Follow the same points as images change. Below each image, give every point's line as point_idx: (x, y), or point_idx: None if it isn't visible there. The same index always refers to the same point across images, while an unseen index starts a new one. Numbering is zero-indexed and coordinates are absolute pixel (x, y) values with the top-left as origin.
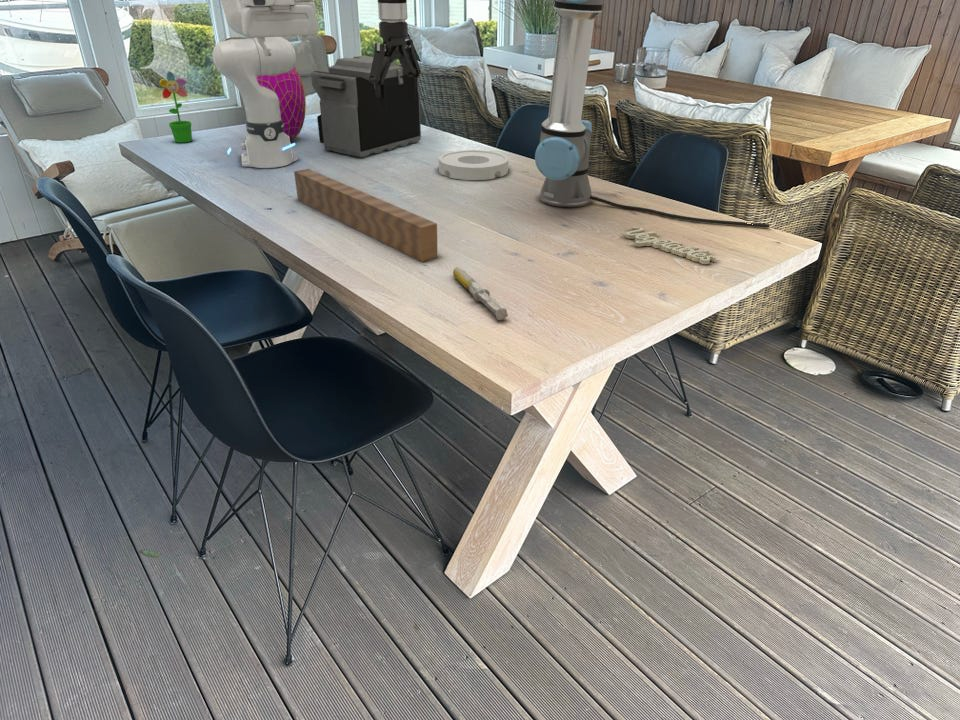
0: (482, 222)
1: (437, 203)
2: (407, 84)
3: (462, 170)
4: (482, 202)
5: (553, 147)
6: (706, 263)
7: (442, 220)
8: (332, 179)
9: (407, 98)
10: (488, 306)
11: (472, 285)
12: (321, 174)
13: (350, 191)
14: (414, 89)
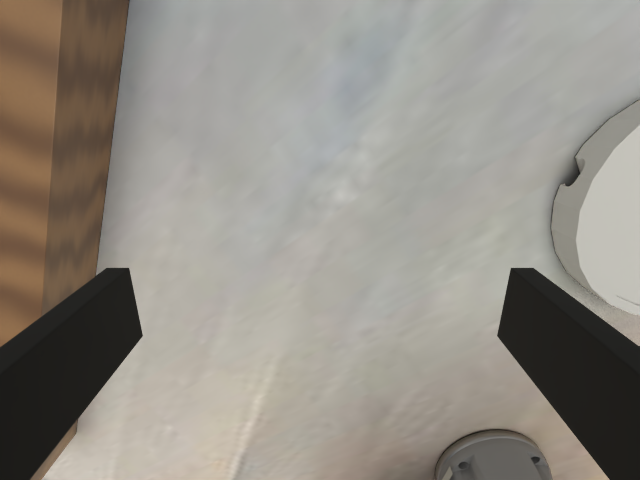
0: (274, 411)
1: (328, 280)
2: (616, 373)
3: (568, 236)
4: (390, 356)
5: None
6: None
7: (234, 349)
8: (54, 71)
9: (524, 285)
10: None
11: None
12: None
13: (18, 222)
14: (561, 414)
